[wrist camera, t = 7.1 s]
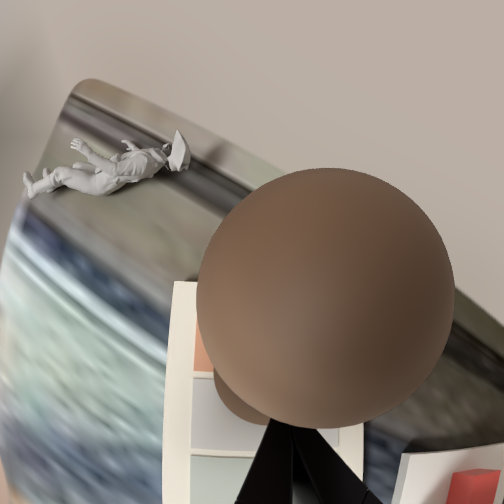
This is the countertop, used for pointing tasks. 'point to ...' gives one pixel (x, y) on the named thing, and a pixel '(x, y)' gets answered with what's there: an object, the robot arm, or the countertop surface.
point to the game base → (452, 476)
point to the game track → (213, 421)
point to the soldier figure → (110, 168)
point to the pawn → (323, 300)
